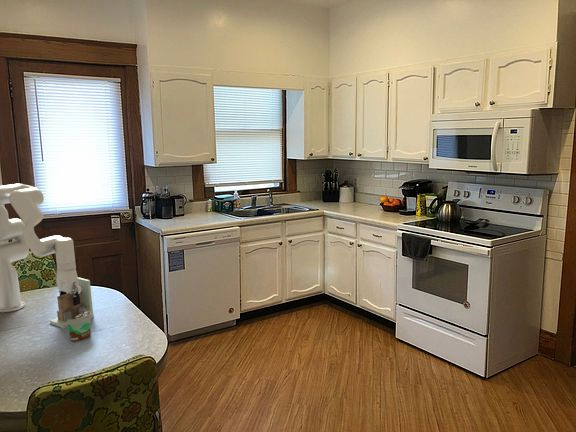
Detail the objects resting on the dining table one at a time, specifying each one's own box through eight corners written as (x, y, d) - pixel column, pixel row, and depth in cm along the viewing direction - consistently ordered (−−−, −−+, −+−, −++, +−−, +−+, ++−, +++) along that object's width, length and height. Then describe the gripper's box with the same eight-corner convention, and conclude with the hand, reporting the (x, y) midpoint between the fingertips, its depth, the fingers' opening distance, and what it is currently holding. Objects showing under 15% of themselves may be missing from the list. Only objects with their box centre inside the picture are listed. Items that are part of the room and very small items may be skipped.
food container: (82, 344, 199) (79, 320, 197) (68, 343, 200) (66, 320, 198) (99, 331, 211) (97, 309, 209) (86, 330, 212) (84, 308, 210)
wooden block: (63, 321, 218) (61, 297, 216) (59, 320, 220) (57, 296, 218) (84, 314, 226) (81, 291, 224) (80, 312, 228) (77, 289, 226)
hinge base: (63, 328, 215) (58, 289, 211) (50, 323, 220) (45, 285, 217) (93, 316, 227) (90, 280, 223) (80, 312, 232) (76, 276, 229)
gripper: (47, 265, 220) (51, 301, 224) (70, 271, 211) (74, 309, 214) (62, 261, 226) (66, 296, 230) (85, 266, 217) (89, 303, 220)
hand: (70, 302), depth 222 cm, fingers open, 9 cm apart
